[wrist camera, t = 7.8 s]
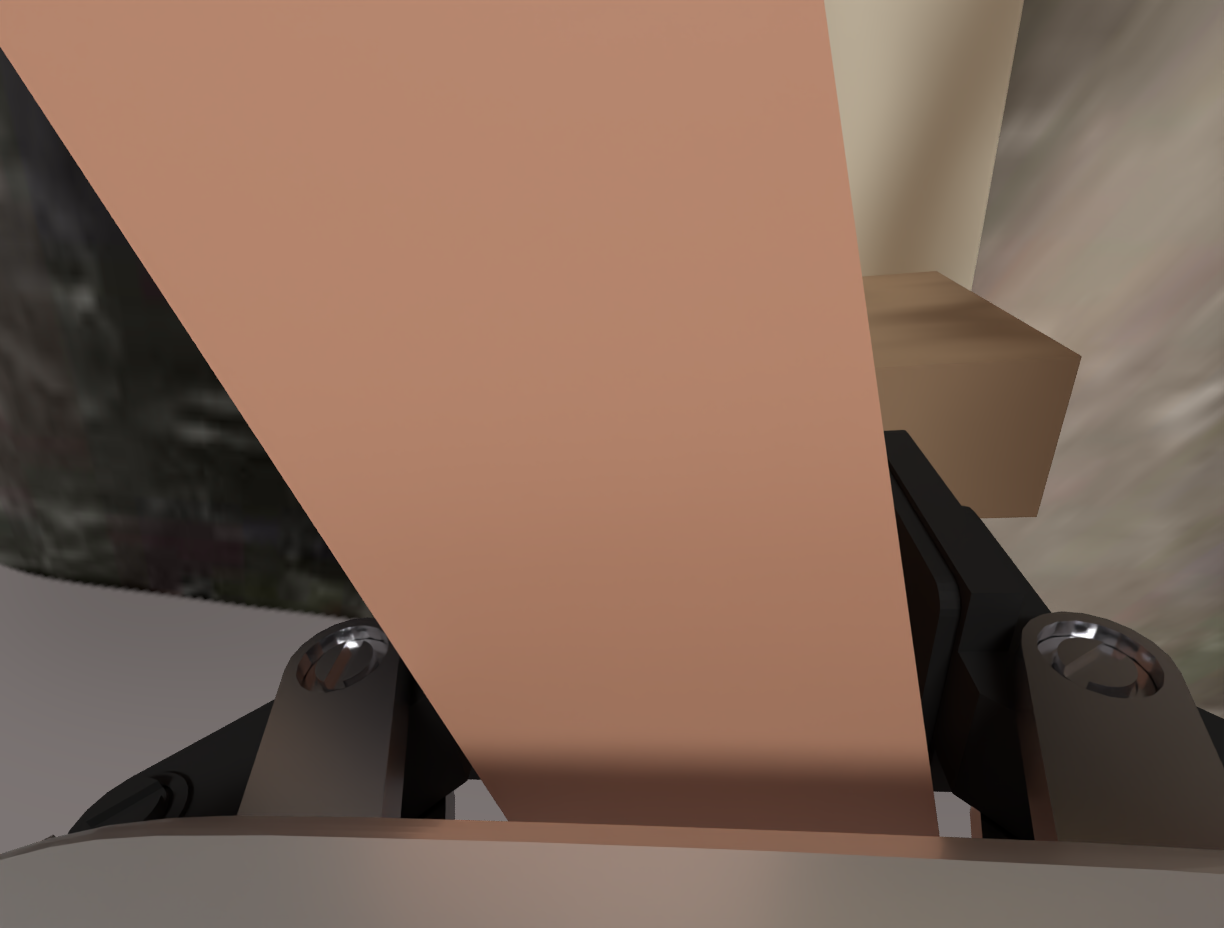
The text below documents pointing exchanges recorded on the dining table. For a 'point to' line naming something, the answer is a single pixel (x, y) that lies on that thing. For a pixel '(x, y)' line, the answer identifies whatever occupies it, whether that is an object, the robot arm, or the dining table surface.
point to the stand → (943, 244)
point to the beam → (544, 368)
